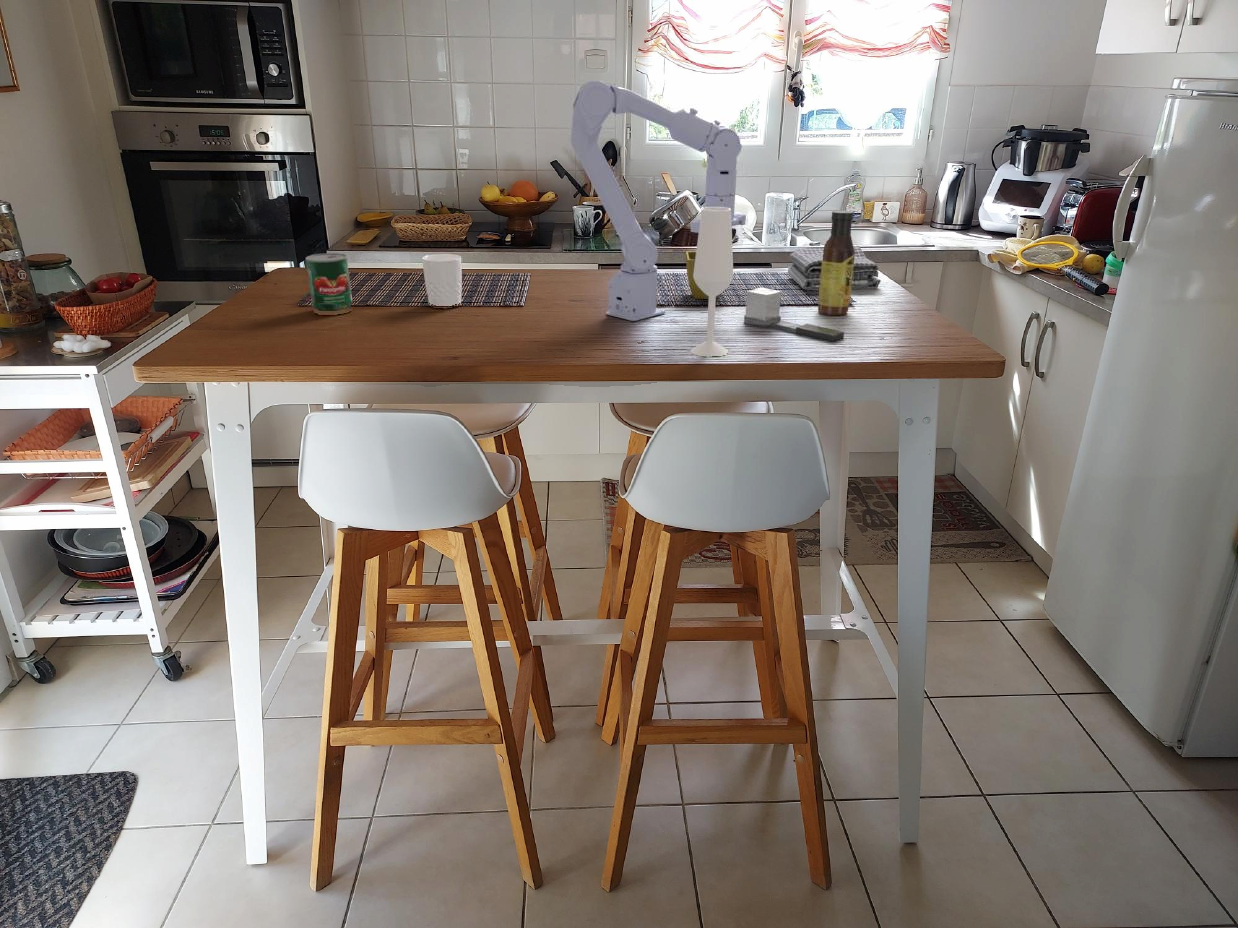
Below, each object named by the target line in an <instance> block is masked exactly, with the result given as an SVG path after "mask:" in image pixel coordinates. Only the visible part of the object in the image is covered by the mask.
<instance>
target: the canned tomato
mask: <svg viewBox="0 0 1238 928" xmlns="http://www.w3.org/2000/svg"><path fill="white" fill-rule="evenodd" d="M347 258H348V256H347V255H346V254H345V253H337V252H336V253H335V252H333V253H332V252H328V253H317V254H310V255H307V256H306V257H305V262H306V270H307V277H308V282H309V283H308V285H309V290H310V297H311V304H312V309H313V308H314V309H317V310H319V311H338V310H342V309H347V308H350V306H351V305H352V303H353V295H352V287H351V280H350V273H349V271H350V270H349V263H348V259H347Z"/></svg>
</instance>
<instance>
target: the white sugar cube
mask: <svg viewBox="0 0 1238 928" xmlns="http://www.w3.org/2000/svg"><path fill="white" fill-rule="evenodd" d="M781 297H782V290H781V291H780V290H776V289H771V288H766V287H758V288H754V289H750V290H747V291H746V301H745V302H746V303H745V315H746V316H745V315H744V316H745V317H749V318H753V319H757V320H762V321H767V320H771V319H774V318H777V317H779V316H780V310H781V309H780V307H781Z"/></svg>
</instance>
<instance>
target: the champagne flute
mask: <svg viewBox="0 0 1238 928" xmlns="http://www.w3.org/2000/svg"><path fill="white" fill-rule="evenodd" d="M699 219H700V227H699V233H698V235H697V243H696V251H695V252H696V258H695V265H694V273H693V278H694V281H695V283H696V284H697V286H698V287H699V288H700V289H701V290H702V291H703V292H704V293H705V294H706V295H708V296H709V299H708V309H707V324H706V325H707V329H706V331H707V332H706V341H704V342H702V343H700V344H698V345H697V346H695V347H693V348H691V349H690V353H691V354H692V353H693V355H694V356H697V355H698V356H697V357H702V356H711V357H710V358H713V357H712V356H721V357H724V356H723V355H725V356H727V355H728V354H729V353H730V351H729V350H728V349H727V348H725V347H723V346H722V345H720V344H719V343H718V342H716V341H715V340H714V339H715V320H716V319H715V317H716V300H717V299H716V296H717V295H719V294H720V295H721V294H722V293H723V292H725V290H726V289H728V288H729V286H730V284H731V283H732V282H733V280H734V260H733V258H734V255H733V254H734V253H733V239H732V227H733V226H732V224H731V209H730V208H725V207H705V206H704V207H702V208H701V215H700V218H699ZM728 351H729V352H728ZM727 353H728V354H727Z"/></svg>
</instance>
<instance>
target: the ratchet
mask: <svg viewBox="0 0 1238 928" xmlns="http://www.w3.org/2000/svg"><path fill="white" fill-rule="evenodd" d="M745 316H746V314H744V319H743V323H744V326H748V327H751V328H757V329H775V330H779V331H782V332H787V333H792V334H795V335H797V336H798V335H799V336H802V337H806V338H811V339H815V340H818V341H819V340H820V341H824V342H826V343H827V342H828V343H832V344H833V343H835V342H839V341H841V340H844V338H845V331H841V330H838V329H832V328H828V327H824V326H820V325H814V324H809V323H805V324H800V323H799V324H798V323H793V322H789V321H786V320H785V321H784V320H781V318H782V316H780V315H779V317H777V318H774V319H771V320H767V321H762V320H757V319H753V318H749V317H745Z"/></svg>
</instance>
